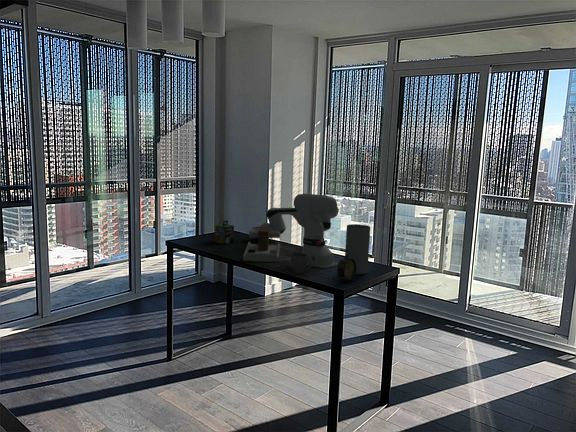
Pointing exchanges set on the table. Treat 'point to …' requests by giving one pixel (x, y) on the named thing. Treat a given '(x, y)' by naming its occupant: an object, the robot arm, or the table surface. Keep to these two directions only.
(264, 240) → the walnut block
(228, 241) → the chalk box
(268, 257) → the box
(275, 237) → the robot arm
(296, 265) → the mug
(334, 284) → the table surface
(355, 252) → the cylinder vase
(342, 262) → the alarm clock
